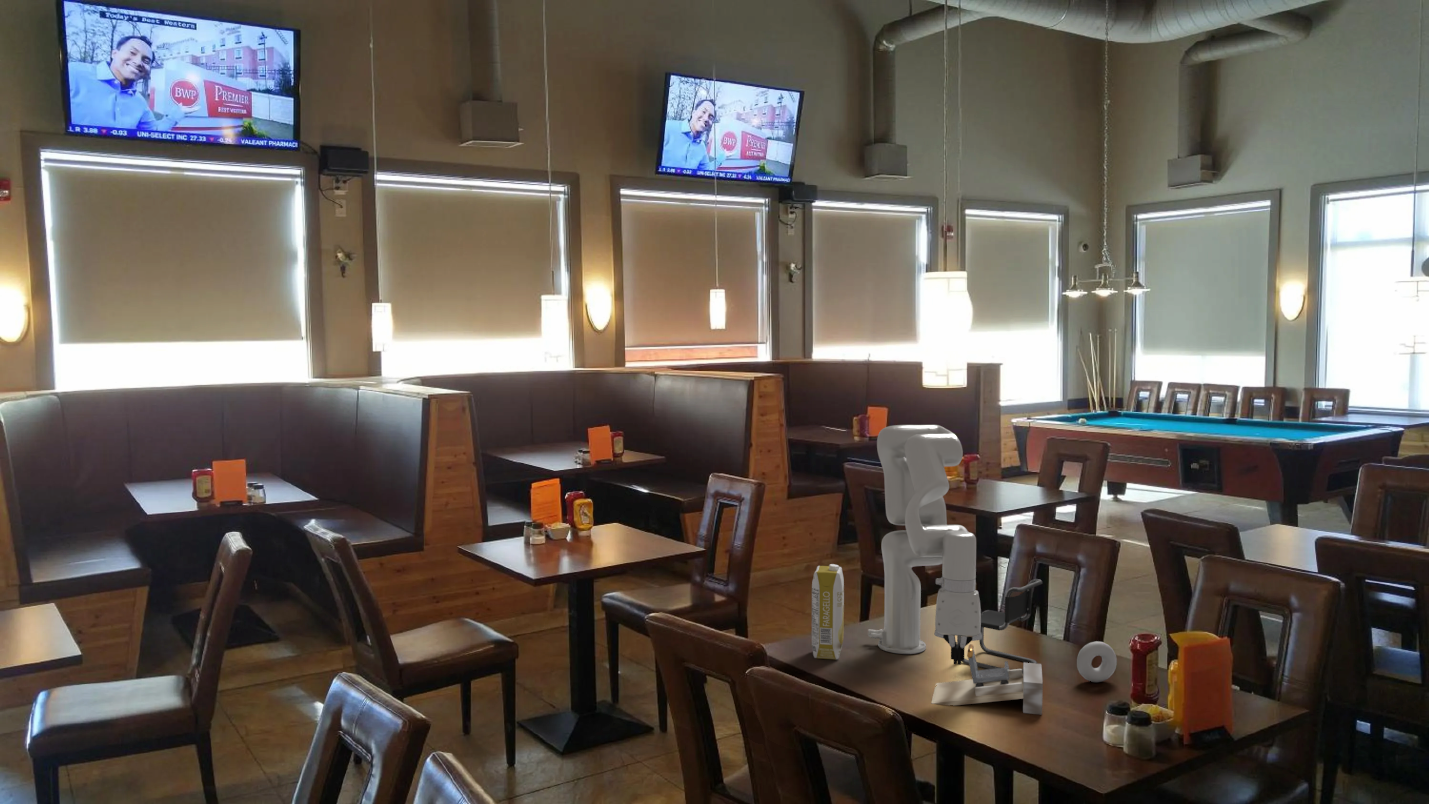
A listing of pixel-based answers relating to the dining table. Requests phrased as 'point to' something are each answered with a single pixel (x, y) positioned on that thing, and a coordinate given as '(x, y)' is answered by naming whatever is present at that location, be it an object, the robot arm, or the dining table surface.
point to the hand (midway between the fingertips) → (957, 662)
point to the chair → (1007, 619)
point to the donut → (1087, 656)
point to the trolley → (986, 671)
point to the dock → (996, 690)
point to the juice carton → (827, 612)
